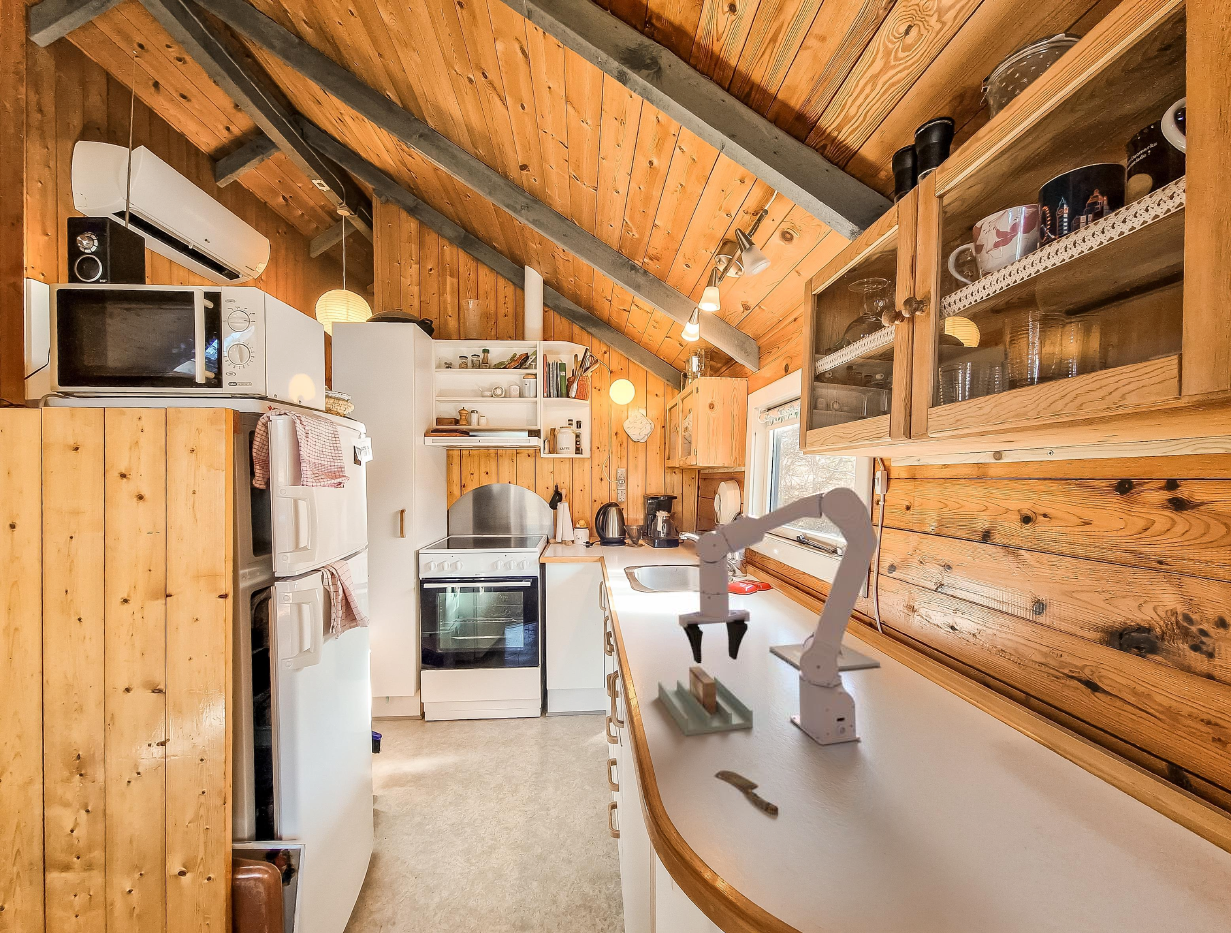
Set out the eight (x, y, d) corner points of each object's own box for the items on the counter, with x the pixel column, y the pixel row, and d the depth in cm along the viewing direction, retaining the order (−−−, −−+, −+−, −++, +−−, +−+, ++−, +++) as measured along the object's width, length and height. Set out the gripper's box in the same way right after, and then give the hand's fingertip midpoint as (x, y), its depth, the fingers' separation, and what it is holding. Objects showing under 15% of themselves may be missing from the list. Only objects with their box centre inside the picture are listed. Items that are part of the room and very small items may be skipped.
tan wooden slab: (716, 714, 91) (715, 682, 91) (704, 715, 91) (703, 683, 91) (699, 695, 99) (699, 666, 99) (688, 697, 98) (688, 667, 98)
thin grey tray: (769, 646, 128) (835, 640, 132) (769, 652, 128) (836, 646, 132) (805, 669, 112) (879, 662, 116) (805, 676, 112) (880, 668, 116)
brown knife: (737, 767, 77) (709, 775, 75) (737, 760, 77) (709, 767, 75) (784, 814, 65) (752, 823, 64) (784, 805, 65) (752, 814, 64)
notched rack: (752, 726, 88) (752, 710, 88) (685, 735, 85) (685, 718, 85) (716, 690, 104) (715, 675, 104) (658, 696, 101) (658, 681, 101)
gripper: (737, 584, 102) (738, 649, 102) (673, 589, 99) (674, 656, 99) (754, 592, 96) (756, 661, 95) (685, 597, 92) (687, 669, 92)
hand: (715, 659), depth 96 cm, fingers open, 7 cm apart
